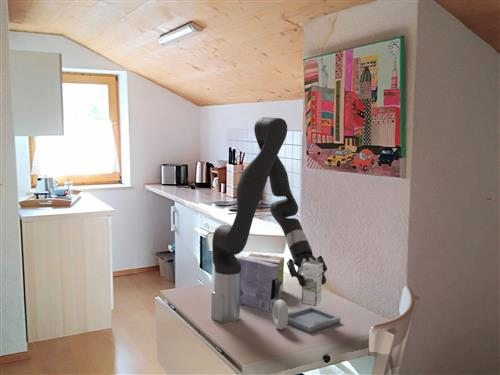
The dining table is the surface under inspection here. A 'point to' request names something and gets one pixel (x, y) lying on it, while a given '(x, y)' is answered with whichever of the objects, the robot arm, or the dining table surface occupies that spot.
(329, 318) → the tray
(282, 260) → the tea box
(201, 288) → the dining table surface
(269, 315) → the dining table surface
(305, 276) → the syrup box
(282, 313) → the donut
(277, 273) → the cake pan box
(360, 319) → the dining table surface
